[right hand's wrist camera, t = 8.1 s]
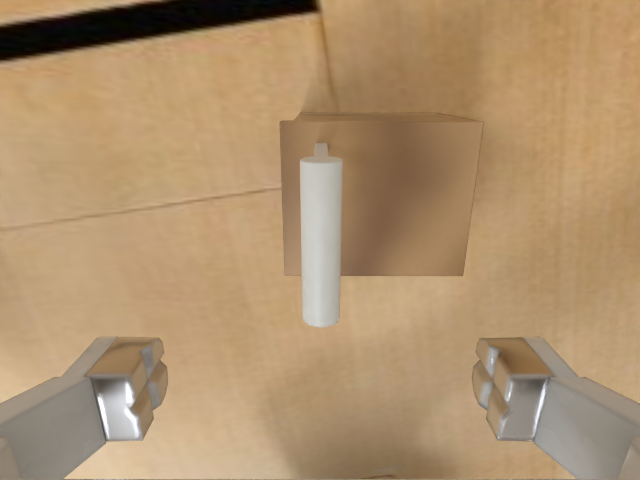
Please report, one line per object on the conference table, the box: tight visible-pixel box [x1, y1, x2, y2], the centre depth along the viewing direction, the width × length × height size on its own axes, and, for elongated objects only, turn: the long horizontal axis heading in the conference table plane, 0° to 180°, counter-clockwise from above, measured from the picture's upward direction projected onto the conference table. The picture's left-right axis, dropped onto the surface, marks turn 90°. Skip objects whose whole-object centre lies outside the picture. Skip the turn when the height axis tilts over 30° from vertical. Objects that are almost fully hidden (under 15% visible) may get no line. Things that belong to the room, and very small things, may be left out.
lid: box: [280, 120, 484, 327], centre depth 22 cm, size 12×10×9 cm
